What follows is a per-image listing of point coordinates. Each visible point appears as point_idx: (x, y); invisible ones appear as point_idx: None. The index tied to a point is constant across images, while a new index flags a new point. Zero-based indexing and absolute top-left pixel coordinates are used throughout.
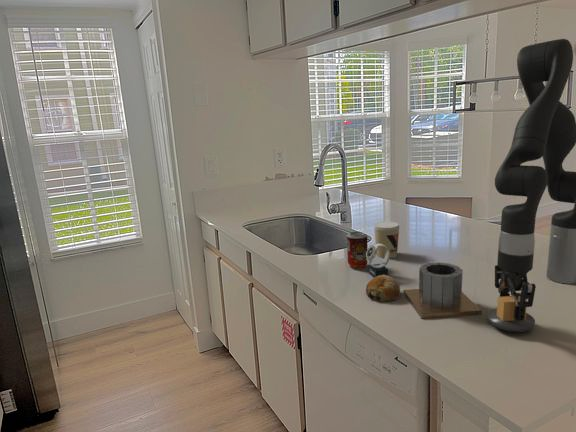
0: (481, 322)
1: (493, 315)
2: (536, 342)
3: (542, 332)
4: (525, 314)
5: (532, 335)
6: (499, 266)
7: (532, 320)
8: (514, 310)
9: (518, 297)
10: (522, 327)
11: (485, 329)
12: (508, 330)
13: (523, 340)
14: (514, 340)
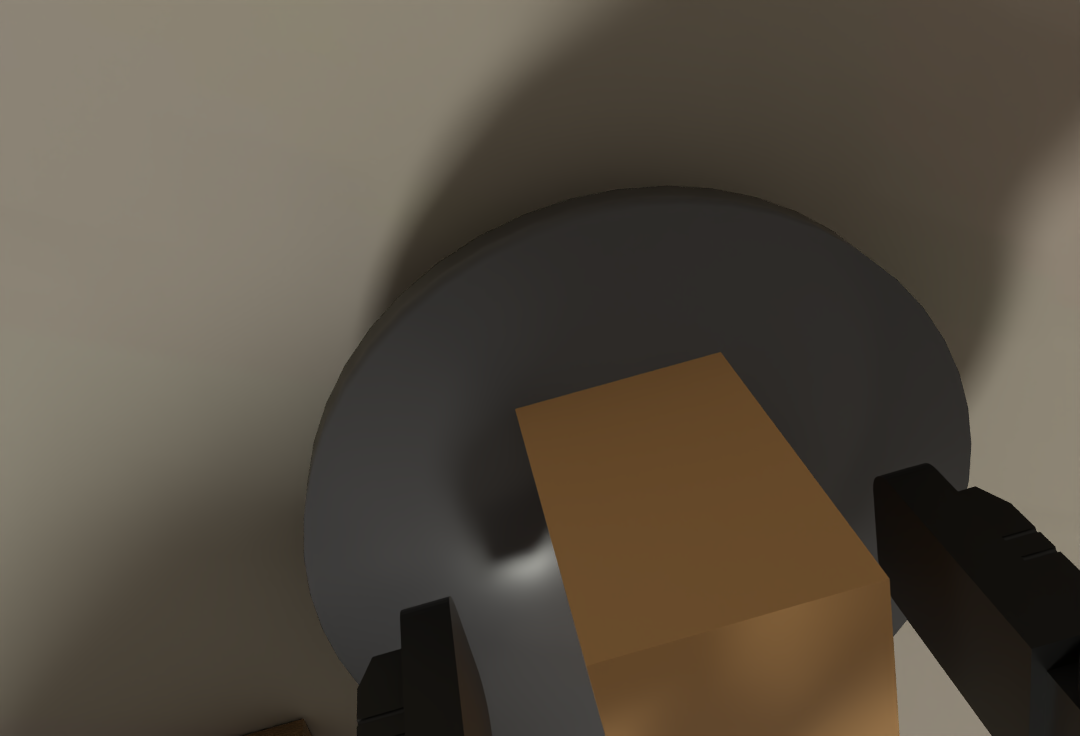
0: None
1: (598, 721)
2: (1037, 236)
3: (786, 65)
4: (758, 404)
5: (862, 235)
6: None
7: (758, 253)
8: (975, 699)
9: (700, 705)
10: (966, 447)
11: None
12: None
13: (971, 373)
14: None
